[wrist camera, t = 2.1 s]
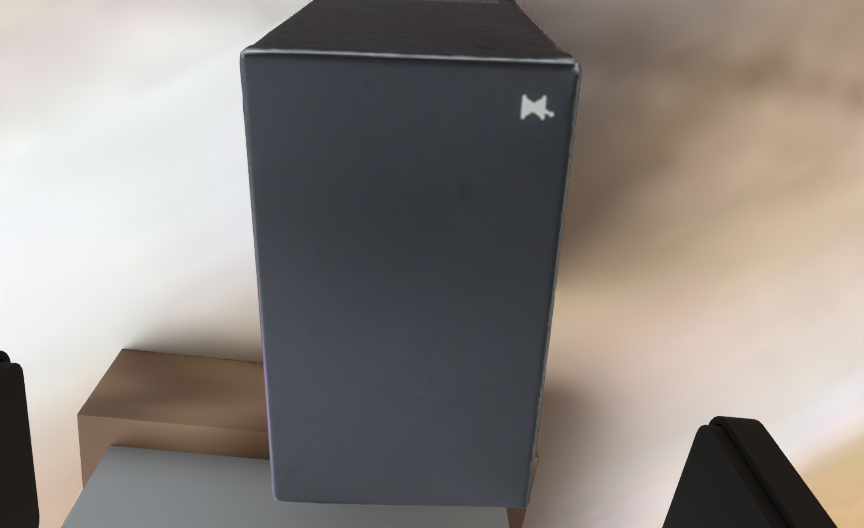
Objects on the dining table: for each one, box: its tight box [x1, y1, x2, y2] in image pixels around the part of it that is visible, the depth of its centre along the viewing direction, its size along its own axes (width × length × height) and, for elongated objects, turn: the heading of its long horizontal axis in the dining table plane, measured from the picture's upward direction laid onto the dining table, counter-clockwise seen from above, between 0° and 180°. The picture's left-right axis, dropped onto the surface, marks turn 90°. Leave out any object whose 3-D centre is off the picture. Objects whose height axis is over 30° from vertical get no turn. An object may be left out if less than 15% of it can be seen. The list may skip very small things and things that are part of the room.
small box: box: [240, 0, 582, 509], centre depth 19 cm, size 11×6×10 cm, turn 178°
